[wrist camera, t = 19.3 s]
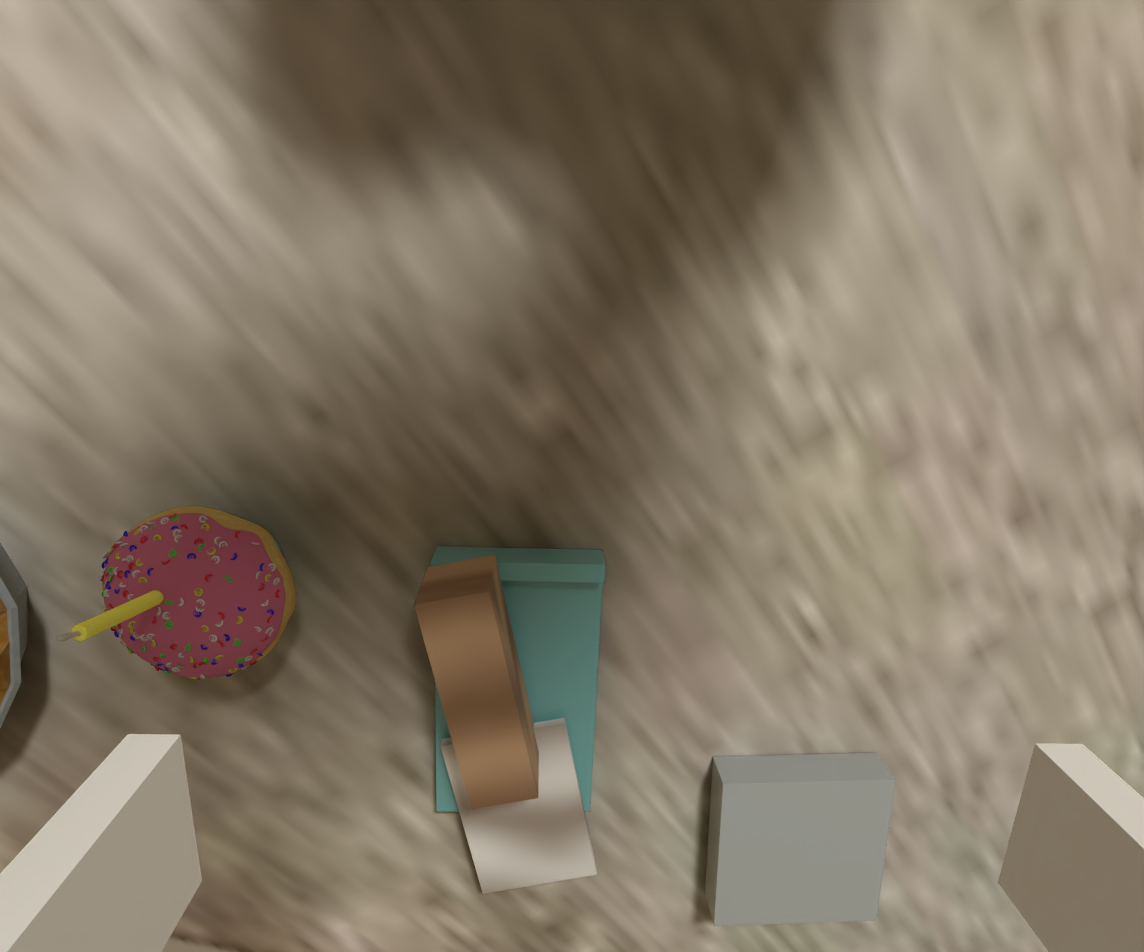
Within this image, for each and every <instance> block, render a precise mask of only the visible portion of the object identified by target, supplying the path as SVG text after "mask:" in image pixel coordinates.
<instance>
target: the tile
mask: <svg viewBox="0 0 1144 952" xmlns="http://www.w3.org/2000/svg"><path fill="white" fill-rule="evenodd" d="M895 781H896V779H895V778H894V777H893V775H892V774H891V772H890V771H889V770H888V768H887V767H886V766H885V764H884V763H883V762H882V760H881V759H880V758H879V756H878V755H877V753H849V754H809V755H768V756H727V757H713V767H712V784H711V800H710V817H709V834H708V851H707V867H706V884H705V895H706V898H707V902H708V906H709V909H710V913H711V917H712V920H713V924H714V926H729V925H758V924H787V923H817V922H846V921H875V920H877V913H878V905H879V898H880V891H881V883H882V876H883V869H884V861H885V854H886V847H887V839H888V832H889V825H890V817H891V810H892V803H893V795H894V788H895Z"/></svg>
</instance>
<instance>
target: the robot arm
mask: <svg viewBox="0 0 1144 952" xmlns="http://www.w3.org/2000/svg"><path fill="white" fill-rule="evenodd" d="M201 882H202V877H201V870H200V863H199V857H198V850H197V843H196V836H195V829H194V822H193V816H192V809H191V802H190V795H189V788H188V781H187V775H186V768H185V761H184V754H183V747H182V741H181V735H171V734H128V735H127V736H126V737H125V738H124V739H123V740H122V741H121V742H120V743H119V744H118V746H117V747H116V748H115V749H114V750H113V751H112V752H111V753H110V754H109V755H108V756H107V758H106V759H105V760H104V761H103V762H102V763H101V764H100V765H99V766H98V767H97V769H96V770H95V771H94V772H93V773H92V774H91V775H90V776H89V777H88V778H87V779H86V781H85V782H84V783H83V784H82V785H81V786H80V787H79V788H78V789H77V790H76V791H75V793H74V794H73V795H72V796H71V797H70V798H69V799H68V800H67V801H66V802H65V804H64V805H63V806H62V807H61V808H60V809H59V810H58V811H57V812H56V813H55V814H54V816H53V817H52V818H51V819H50V820H49V821H48V822H47V823H46V824H45V825H44V826H43V828H42V829H41V830H40V831H39V832H38V833H37V834H36V835H35V836H34V837H33V839H32V840H31V841H30V842H29V843H28V844H27V845H26V846H25V847H24V848H23V849H22V851H21V852H20V853H19V854H18V855H17V856H16V857H15V858H14V859H13V860H12V861H11V863H10V864H9V865H8V866H7V867H6V868H5V869H4V870H3V871H2V872H1V874H0V952H162V950H163V948H164V947H165V945H166V943H167V941H168V940H169V938H170V936H171V934H172V933H173V931H174V929H175V927H176V926H177V924H178V922H179V920H180V919H181V917H182V915H183V913H184V912H185V910H186V908H187V906H188V905H189V903H190V901H191V899H192V898H193V896H194V894H195V892H196V891H197V889H198V887H199V885H200V884H201ZM998 883H999V885H1000V886H1001V887H1002V889H1003V890H1004V891H1005V893H1006V894H1007V895H1008V897H1009V898H1010V900H1011V901H1012V902H1013V904H1014V905H1015V906H1016V908H1017V909H1018V910H1019V912H1020V913H1021V915H1022V916H1023V917H1024V919H1025V920H1026V921H1027V923H1028V924H1029V925H1030V927H1031V928H1032V929H1033V931H1034V932H1035V934H1036V935H1037V936H1038V938H1039V939H1040V940H1041V942H1042V943H1043V944H1044V946H1045V947H1046V948H1047V950H1048V951H1049V952H1144V798H1143V797H1142V796H1141V795H1140V794H1138V793H1137V792H1136V791H1135V790H1134V789H1133V788H1132V787H1130V786H1129V785H1128V784H1127V783H1126V782H1125V781H1124V780H1123V779H1121V778H1120V777H1119V776H1118V775H1117V774H1116V773H1115V772H1114V771H1112V770H1111V769H1110V768H1109V767H1108V766H1107V765H1106V764H1104V763H1103V762H1102V761H1101V760H1100V759H1099V758H1098V757H1097V756H1095V755H1094V754H1093V753H1092V752H1091V751H1090V750H1089V749H1087V748H1086V747H1085V746H1084V745H1083V744H1035V746H1034V750H1033V754H1032V758H1031V761H1030V765H1029V769H1028V772H1027V776H1026V780H1025V784H1024V787H1023V791H1022V795H1021V799H1020V802H1019V806H1018V810H1017V813H1016V817H1015V821H1014V825H1013V828H1012V832H1011V836H1010V840H1009V843H1008V847H1007V851H1006V854H1005V858H1004V862H1003V866H1002V869H1001V873H1000V877H999V881H998Z"/></svg>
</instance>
